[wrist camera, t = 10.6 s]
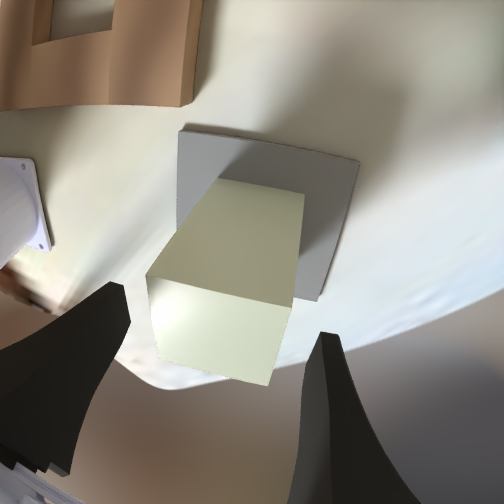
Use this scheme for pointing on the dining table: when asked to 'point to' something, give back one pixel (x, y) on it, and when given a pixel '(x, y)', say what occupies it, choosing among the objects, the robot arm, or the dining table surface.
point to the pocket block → (100, 56)
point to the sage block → (228, 281)
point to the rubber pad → (275, 176)
